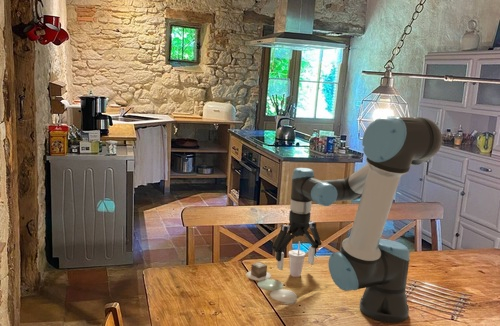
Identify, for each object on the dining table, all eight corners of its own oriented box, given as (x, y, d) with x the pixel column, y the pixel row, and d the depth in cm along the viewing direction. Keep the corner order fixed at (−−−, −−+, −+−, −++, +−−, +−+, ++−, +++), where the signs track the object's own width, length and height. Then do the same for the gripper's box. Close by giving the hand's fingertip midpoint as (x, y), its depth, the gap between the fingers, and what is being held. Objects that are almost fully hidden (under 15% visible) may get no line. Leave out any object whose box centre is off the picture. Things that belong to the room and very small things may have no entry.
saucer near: (302, 302, 152) (302, 298, 151) (278, 307, 147) (279, 303, 147) (287, 290, 159) (287, 287, 159) (264, 295, 155) (265, 291, 155)
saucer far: (275, 281, 166) (275, 278, 166) (253, 285, 162) (253, 282, 162) (263, 271, 174) (263, 268, 174) (241, 275, 170) (242, 272, 170)
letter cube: (266, 275, 168) (267, 264, 167) (258, 278, 165) (259, 267, 164) (258, 271, 171) (259, 261, 170) (250, 274, 168) (251, 263, 167)
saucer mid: (288, 291, 159) (288, 287, 159) (265, 295, 155) (265, 292, 155) (274, 280, 167) (274, 277, 167) (252, 284, 163) (253, 281, 162)
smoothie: (304, 281, 167) (307, 245, 165) (286, 280, 167) (289, 244, 165) (302, 274, 173) (305, 239, 171) (285, 273, 174) (288, 238, 171)
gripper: (321, 205, 175) (317, 257, 179) (264, 210, 163) (261, 267, 167) (334, 210, 168) (328, 265, 172) (275, 217, 157) (271, 275, 161)
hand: (295, 266), depth 170 cm, fingers open, 13 cm apart
